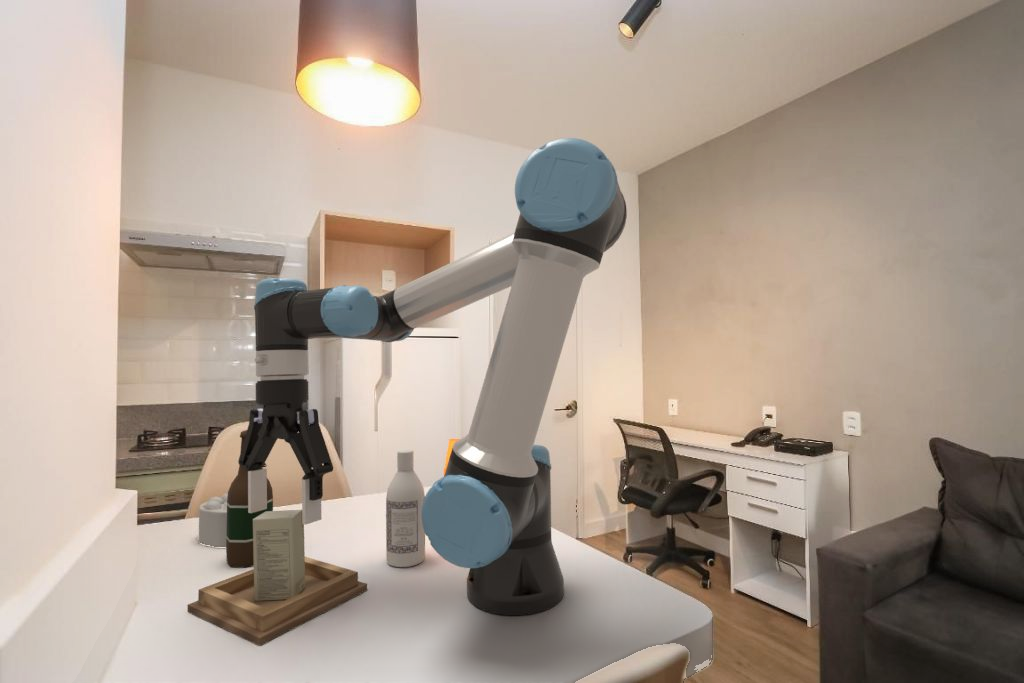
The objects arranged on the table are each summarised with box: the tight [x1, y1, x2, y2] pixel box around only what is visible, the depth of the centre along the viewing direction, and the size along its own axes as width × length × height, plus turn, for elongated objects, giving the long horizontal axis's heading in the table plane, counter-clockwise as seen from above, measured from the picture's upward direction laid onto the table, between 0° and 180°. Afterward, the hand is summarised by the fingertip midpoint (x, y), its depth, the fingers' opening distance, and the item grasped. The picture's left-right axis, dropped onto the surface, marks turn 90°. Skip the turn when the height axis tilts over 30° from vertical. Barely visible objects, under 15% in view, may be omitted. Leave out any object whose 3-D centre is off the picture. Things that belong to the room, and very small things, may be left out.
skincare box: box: [253, 509, 306, 601], centre depth 76 cm, size 6×4×12 cm
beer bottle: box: [225, 429, 274, 568], centre depth 93 cm, size 8×8×24 cm
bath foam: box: [385, 449, 426, 568], centre depth 91 cm, size 7×7×20 cm
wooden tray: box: [187, 556, 368, 647], centre depth 76 cm, size 18×18×3 cm
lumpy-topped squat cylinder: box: [198, 492, 228, 547], centre depth 105 cm, size 10×13×9 cm
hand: (283, 516), depth 76 cm, fingers open, 13 cm apart
